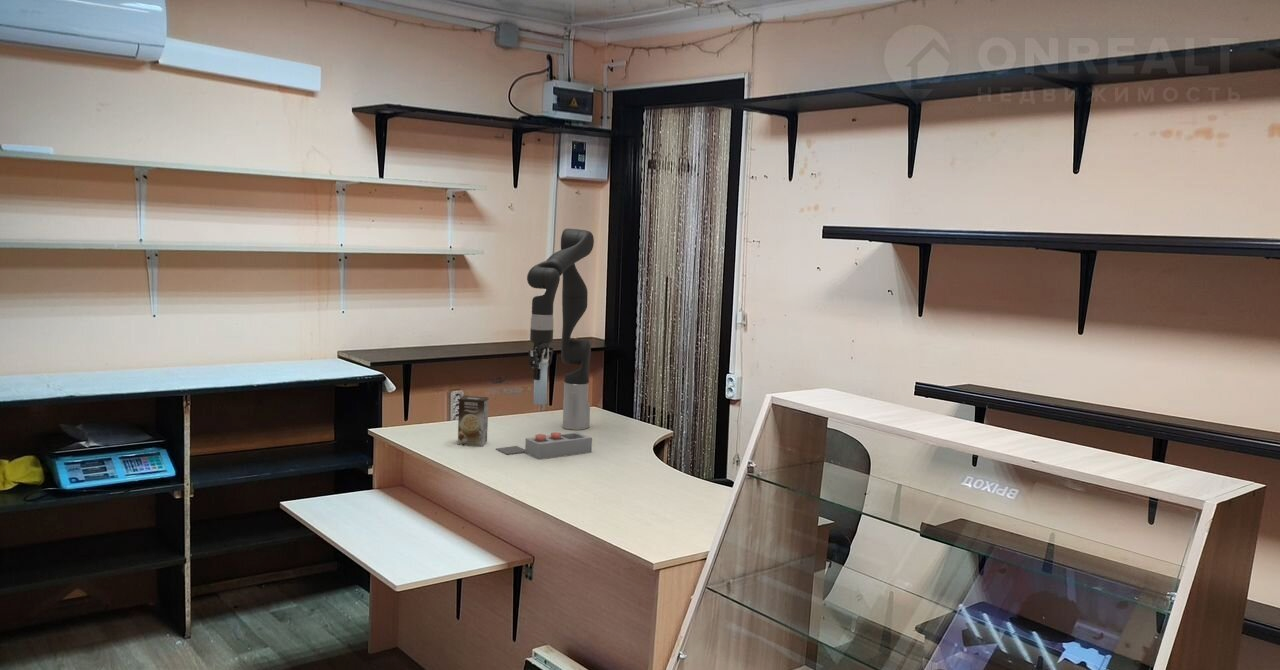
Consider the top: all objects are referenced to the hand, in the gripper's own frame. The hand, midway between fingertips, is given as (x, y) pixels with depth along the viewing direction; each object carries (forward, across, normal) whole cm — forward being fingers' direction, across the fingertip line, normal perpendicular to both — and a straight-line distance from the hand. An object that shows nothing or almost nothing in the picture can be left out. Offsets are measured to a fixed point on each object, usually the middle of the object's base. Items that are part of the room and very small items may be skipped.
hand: (540, 378), depth 308 cm
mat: (+25, -4, +8) cm, 26 cm away
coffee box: (+25, -2, +24) cm, 35 cm away
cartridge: (+8, 0, 0) cm, 8 cm away
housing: (+25, +3, -7) cm, 26 cm away
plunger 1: (+24, -4, -3) cm, 24 cm away
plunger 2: (+24, +1, -6) cm, 24 cm away
